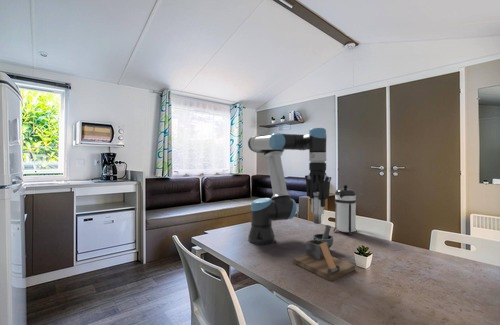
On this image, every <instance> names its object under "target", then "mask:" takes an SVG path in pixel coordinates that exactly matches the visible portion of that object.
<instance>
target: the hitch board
mask: <svg viewBox="0 0 500 325" xmlns="http://www.w3.org/2000/svg"><path fill="white" fill-rule="evenodd" d="M321 243H324V241H321V240H318V239H314V238H313V239H311V240H308V241H307V240H306V242H305V249H306V250H305V251H306V252H305V253H304V254H303V255H298V256H296V257H293V258H292V262H293V264H295V265H297V266H298V267H301V268H303V269H305V270H308V271H309V272H312V273H313V274H316V275H318V276H320V277H322V278H323V279H326V280H328V281H330V282H333V281H336V280H338V279H339V278H341V277H344V276H346V275H348V274H350V273H352V272H354V271H356V265H355V264H354V263H350V262H348V261H346V260H342V259H340V258H337V257H335V256H332V259H333V261H334V264H335V266H336V267H337V268H338V270H337V271H335V272H332V273H331V269H329V267H328V264H327V262H326V259H325V257H324V254H323V252H322V249H321V247H320V244H321ZM326 244H327V247H328V243H327V242H326Z"/></svg>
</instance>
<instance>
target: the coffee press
mask: <svg viewBox="0 0 500 325" xmlns="http://www.w3.org/2000/svg"><path fill="white" fill-rule="evenodd" d="M334 195H335V196H334V197H335V198H334V204H335V205H334V206H335V207H334V210H335V211H334V212H335V215H334V217H335V218H334V226H335V227H334V228H333V232H334V233H337V232H343V233H348V234H347V235H348V236H353V232H355V233H357V232H358V231H357V228H356V227H357V226H356V225H357V224H356V214H357V213H356V212H357V211H356V209H357V208H356V207H357V206H356V205H357V198H356V197H357V193H356V191H355V190H354V189H351V188H348V185H347V184H344V185H343V188H338V189H336V190H335V192H334Z"/></svg>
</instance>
